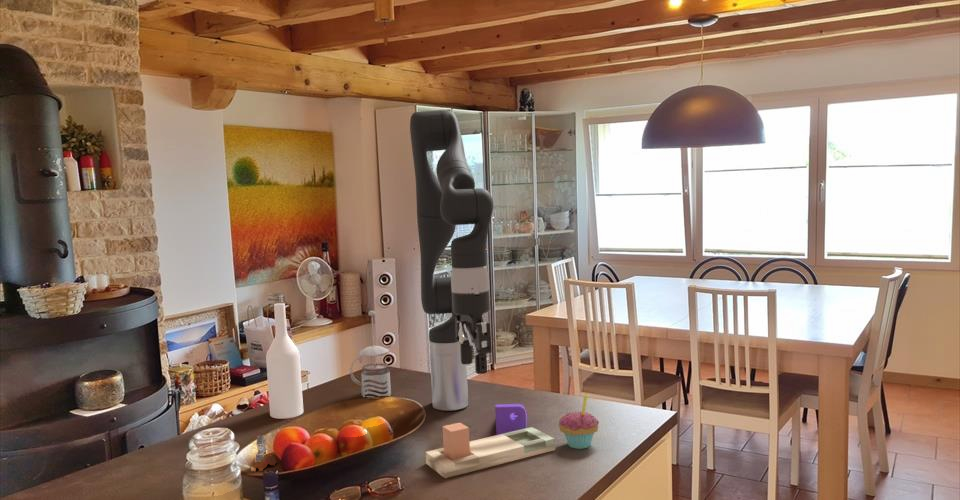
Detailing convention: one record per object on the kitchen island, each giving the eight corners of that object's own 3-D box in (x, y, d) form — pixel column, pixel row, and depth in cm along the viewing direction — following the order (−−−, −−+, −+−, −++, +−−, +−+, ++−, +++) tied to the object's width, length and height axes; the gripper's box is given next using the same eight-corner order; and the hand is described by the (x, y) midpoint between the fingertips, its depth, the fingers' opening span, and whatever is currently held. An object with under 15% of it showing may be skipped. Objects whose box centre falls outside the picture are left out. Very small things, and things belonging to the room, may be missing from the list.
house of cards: (286, 481, 138) (284, 443, 138) (243, 482, 139) (240, 445, 138) (299, 464, 147) (297, 428, 147) (259, 465, 148) (256, 430, 147)
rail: (426, 463, 143) (425, 451, 143) (532, 437, 156) (531, 426, 155) (444, 478, 135) (444, 465, 135) (555, 449, 148) (554, 438, 147)
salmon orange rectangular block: (444, 459, 142) (442, 426, 142) (461, 455, 144) (459, 422, 144) (452, 465, 139) (451, 431, 138) (470, 461, 141) (468, 427, 140)
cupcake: (602, 439, 153) (600, 386, 152) (595, 454, 145) (593, 397, 144) (563, 436, 155) (561, 384, 154) (555, 450, 147) (553, 395, 146)
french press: (392, 406, 184) (387, 312, 182) (349, 408, 184) (343, 314, 182) (397, 395, 194) (392, 306, 192) (356, 397, 194) (350, 308, 192)
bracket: (526, 435, 158) (525, 406, 157) (496, 436, 159) (495, 407, 158) (526, 418, 170) (525, 391, 169) (498, 419, 170) (497, 392, 170)
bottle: (270, 418, 178) (262, 302, 175) (303, 414, 180) (295, 300, 177) (270, 428, 170) (261, 307, 167) (304, 424, 172) (296, 304, 170)
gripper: (441, 286, 144) (445, 363, 145) (464, 295, 131) (468, 379, 132) (475, 283, 147) (478, 358, 148) (501, 291, 133) (504, 374, 135)
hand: (473, 368), depth 140 cm, fingers open, 8 cm apart
